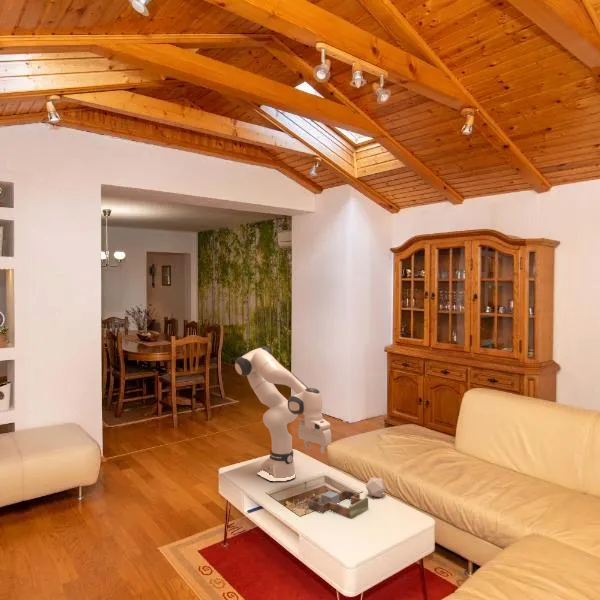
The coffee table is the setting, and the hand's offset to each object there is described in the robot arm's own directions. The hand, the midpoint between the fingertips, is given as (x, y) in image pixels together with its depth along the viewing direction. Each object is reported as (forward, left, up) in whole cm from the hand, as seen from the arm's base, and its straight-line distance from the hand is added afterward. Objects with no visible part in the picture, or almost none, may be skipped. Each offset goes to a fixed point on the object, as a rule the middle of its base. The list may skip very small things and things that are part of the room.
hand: (314, 451), depth 232 cm
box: (+15, -1, -22) cm, 27 cm away
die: (+21, +20, -23) cm, 37 cm away
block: (+10, -1, -23) cm, 24 cm away
